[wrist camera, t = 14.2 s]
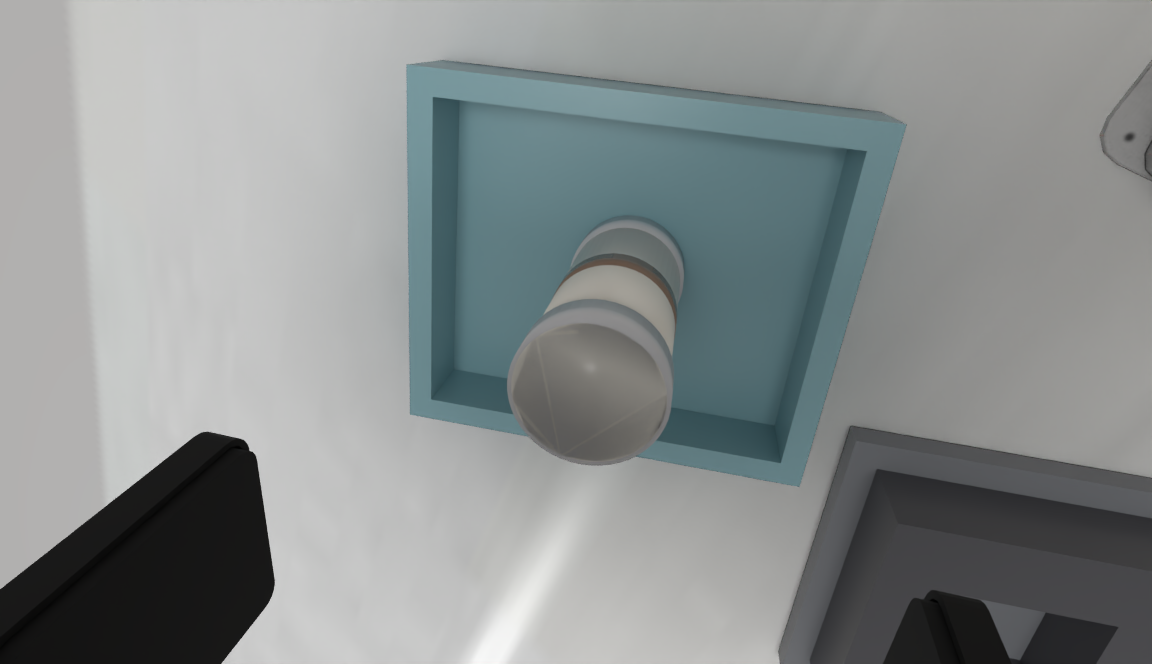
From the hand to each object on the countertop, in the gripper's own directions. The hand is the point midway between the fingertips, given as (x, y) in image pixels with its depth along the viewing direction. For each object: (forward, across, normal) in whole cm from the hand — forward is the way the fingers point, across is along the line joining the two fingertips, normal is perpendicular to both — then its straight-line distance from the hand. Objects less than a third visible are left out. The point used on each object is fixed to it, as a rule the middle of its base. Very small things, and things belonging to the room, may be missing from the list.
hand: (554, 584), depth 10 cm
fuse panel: (+16, -14, +12) cm, 24 cm away
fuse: (+15, +1, +1) cm, 15 cm away
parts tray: (+16, +1, +1) cm, 16 cm away
